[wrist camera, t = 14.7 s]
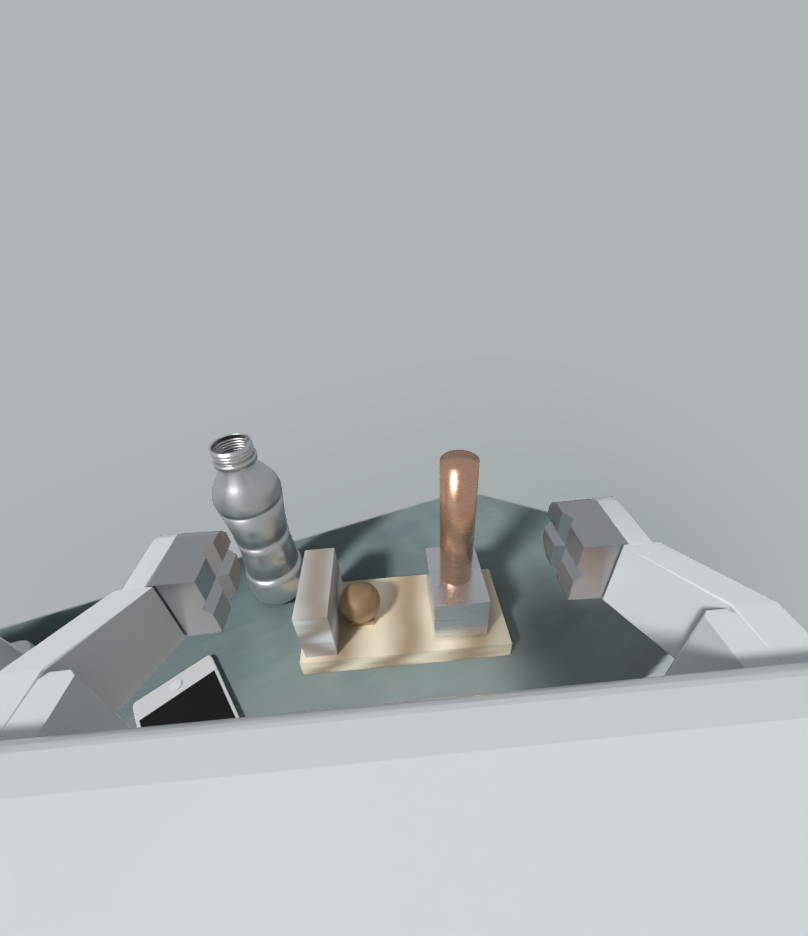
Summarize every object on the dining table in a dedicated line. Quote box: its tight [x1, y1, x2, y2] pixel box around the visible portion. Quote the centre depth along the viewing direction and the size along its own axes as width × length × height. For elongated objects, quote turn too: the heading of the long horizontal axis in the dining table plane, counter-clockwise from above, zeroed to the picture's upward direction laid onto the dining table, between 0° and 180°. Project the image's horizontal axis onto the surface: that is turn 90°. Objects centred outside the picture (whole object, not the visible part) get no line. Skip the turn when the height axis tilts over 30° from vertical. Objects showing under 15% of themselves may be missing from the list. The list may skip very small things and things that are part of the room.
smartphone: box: [133, 655, 240, 728], centre depth 32 cm, size 7×16×1 cm, turn 41°
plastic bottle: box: [209, 433, 303, 605], centre depth 40 cm, size 6×7×20 cm
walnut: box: [340, 581, 380, 627], centre depth 39 cm, size 4×4×4 cm
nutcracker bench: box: [292, 548, 512, 674], centre depth 39 cm, size 20×9×8 cm, turn 94°
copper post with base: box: [425, 450, 490, 639], centre depth 35 cm, size 5×7×18 cm
